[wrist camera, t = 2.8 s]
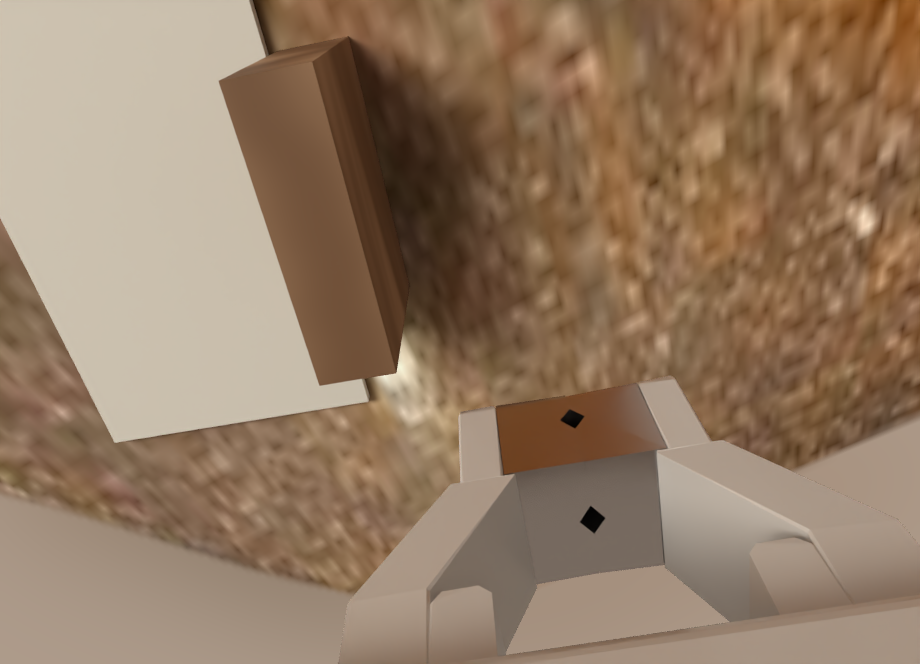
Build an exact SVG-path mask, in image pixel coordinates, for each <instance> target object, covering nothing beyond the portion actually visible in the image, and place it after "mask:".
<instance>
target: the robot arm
mask: <svg viewBox="0 0 920 664" xmlns="http://www.w3.org/2000/svg"><path fill="white" fill-rule="evenodd" d="M459 450H460V483H456V484H451V485H449V487H448V488H447V489H446V490H445V491H444V492H443V494H442V495H441V496H440V497H439V498H438V499H437V500H436V502H435V503H434V504H433V505H432V506H431V507H430V508H429V510H428V511H427V512H426V513H425V514H424V515H423V517H422V518H421V519H420V520H419V521H418V522H417V523H416V525H415V526H414V527H413V528H412V529H411V530H410V532H409V533H408V534H407V535H406V536H405V537H404V538H403V540H402V541H401V542H400V543H399V544H398V545H397V547H396V548H395V549H394V550H393V551H392V552H391V553H390V555H389V556H388V557H387V558H386V559H385V560H384V562H383V563H382V564H381V565H380V566H379V567H378V568H377V570H376V571H375V572H374V573H373V574H372V575H371V577H370V578H369V579H368V580H367V581H366V582H365V583H364V585H363V586H362V587H361V588H360V589H359V590H358V591H357V593H356V594H355V595H354V596H353V597H352V598H351V600H350V601H349V602H348V606H347V612H346V619H345V624H344V631H343V637H342V643H341V650H340V656H339V662H338V664H920V545H919V544H918V543H917V542H916V540H915V539H914V538H913V537H912V536H911V534H910V533H909V532H908V531H907V530H906V529H905V527H904V526H903V525H902V524H901V522H900V521H899V520H898V519H896V518H894V517H892V516H890V515H887V514H885V513H883V512H881V511H879V510H876V509H874V508H872V507H870V506H867V505H865V504H863V503H861V502H859V501H856V500H854V499H852V498H850V497H848V496H845V495H843V494H841V493H839V492H836V491H834V490H832V489H830V488H828V487H825V486H823V485H821V484H819V483H817V482H814V481H812V480H810V479H808V478H806V477H804V476H801V475H799V474H797V473H795V472H792V471H790V470H788V469H786V468H784V467H781V466H779V465H777V464H775V463H773V462H770V461H768V460H766V459H764V458H762V457H759V456H757V455H755V454H753V453H751V452H748V451H746V450H744V449H742V448H740V447H737V446H735V445H733V444H731V443H728V442H726V441H724V440H720V441H713V442H712V440H711V439H710V437H709V435H708V434H707V432H706V430H705V428H704V427H703V425H702V423H701V422H700V420H699V418H698V416H697V415H696V413H695V411H694V409H693V408H692V406H691V404H690V403H689V401H688V399H687V397H686V396H685V394H684V392H683V390H682V389H681V387H680V385H679V384H678V382H677V380H676V378H674V377H672V376H666V377H661V378H656V379H651V380H646V381H642V382H637V383H633V384H628V385H623V386H618V387H613V388H607V389H602V390H597V391H592V392H587V393H582V394H577V395H571V396H559V397H552V398H545V399H539V400H532V401H525V402H519V403H512V404H505V405H498V406H496V408H495V407H494V406H490V407H485V408H479V409H474V410H468V411H462V412H460V415H459ZM659 565H665V568H666V569H668V570H669V571H670V572H671V573H672V574H674V575H675V576H676V577H677V578H678V579H679V580H681V581H682V582H683V583H684V584H685V585H687V586H688V587H689V588H690V589H691V590H693V591H694V592H695V593H696V594H697V595H699V596H700V597H701V598H702V599H703V600H705V601H706V602H707V603H708V604H709V605H711V606H712V607H713V608H714V609H715V610H717V611H718V612H719V613H720V614H721V615H723V616H724V617H725V618H726V619H727V620H728V621H730V622H728V623H721V624H715V625H708V626H701V627H694V628H687V629H680V630H674V631H667V632H660V633H653V634H647V635H641V636H633V637H627V638H620V639H613V640H606V641H599V642H593V643H586V644H579V645H572V646H566V647H559V648H551V649H545V650H538V651H531V652H524V653H517V654H510V655H506V651H507V649H508V647H509V644H510V642H511V640H512V638H513V636H514V634H515V632H516V630H517V628H518V626H519V624H520V622H521V620H522V618H523V616H524V614H525V611H526V609H527V607H528V605H529V603H530V601H531V599H532V597H533V595H534V593H535V591H536V589H537V585H536V584H541V583H546V582H552V581H557V580H563V579H568V578H574V577H579V576H584V575H590V574H596V573H602V572H610V571H618V570H626V569H635V568H643V567H651V566H659Z"/></svg>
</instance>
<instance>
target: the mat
mask: <svg viewBox="0 0 920 664" xmlns="http://www.w3.org/2000/svg"><path fill="white" fill-rule="evenodd" d="M267 56H269V54H268V51H267V47H266V44H265V41H264V37H263V34H262V30H261V27H260V24H259V20H258V17H257V14H256V10H255V7H254V3H253V0H0V218H1V220H2V222H3V224H4V226H5V228H6V230H7V232H8V234H9V236H10V238H11V240H12V242H13V244H14V246H15V248H16V250H17V252H18V254H19V256H20V258H21V260H22V261H23V263H24V265H25V267H26V269H27V271H28V273H29V275H30V277H31V279H32V281H33V283H34V285H35V287H36V289H37V291H38V293H39V295H40V297H41V299H42V301H43V303H44V305H45V307H46V309H47V311H48V313H49V314H50V316H51V318H52V320H53V322H54V324H55V326H56V328H57V330H58V332H59V334H60V336H61V338H62V340H63V342H64V344H65V346H66V348H67V350H68V352H69V354H70V356H71V358H72V360H73V362H74V364H75V365H76V367H77V369H78V371H79V373H80V375H81V377H82V379H83V381H84V383H85V385H86V387H87V389H88V391H89V393H90V395H91V397H92V399H93V401H94V403H95V405H96V407H97V409H98V411H99V413H100V415H101V417H102V418H103V420H104V422H105V424H106V426H107V428H108V430H109V432H110V434H111V436H112V438H113V440H114V442H115V443H116V442H122V441H128V440H134V439H141V438H147V437H153V436H159V435H165V434H171V433H178V432H184V431H190V430H196V429H202V428H208V427H215V426H221V425H227V424H233V423H239V422H245V421H252V420H258V419H264V418H270V417H276V416H282V415H289V414H295V413H301V412H307V411H313V410H319V409H326V408H332V407H338V406H344V405H350V404H356V403H363V402H369V397H370V396H369V392H368V389H367V386H366V382H365V379H358V380H352V381H346V382H340V383H334V384H328V385H322V386H319V383H318V380H317V377H316V374H315V371H314V368H313V365H312V362H311V359H310V356H309V353H308V350H307V347H306V344H305V341H304V338H303V335H302V332H301V329H300V326H299V323H298V320H297V317H296V314H295V311H294V308H293V305H292V302H291V299H290V296H289V293H288V290H287V287H286V283H285V280H284V277H283V274H282V271H281V268H280V265H279V262H278V259H277V256H276V253H275V250H274V247H273V244H272V241H271V238H270V235H269V232H268V229H267V226H266V223H265V220H264V217H263V214H262V211H261V208H260V205H259V202H258V199H257V196H256V193H255V190H254V187H253V184H252V181H251V178H250V175H249V172H248V169H247V166H246V163H245V160H244V157H243V154H242V151H241V148H240V145H239V142H238V139H237V136H236V133H235V130H234V127H233V124H232V121H231V118H230V115H229V112H228V109H227V106H226V103H225V100H224V96H223V93H222V90H221V87H220V84H219V80H221V79H223V78H225V77H227V76H229V75H231V74H233V73H235V72H237V71H239V70H241V69H243V68H245V67H247V66H249V65H251V64H253V63H255V62H257V61H259V60H261V59H263V58H265V57H267Z"/></svg>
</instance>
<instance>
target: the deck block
mask: <svg viewBox="0 0 920 664" xmlns="http://www.w3.org/2000/svg"><path fill="white" fill-rule="evenodd" d="M219 84H220V87H221V90H222V93H223V96H224V100H225V103H226V106H227V109H228V112H229V115H230V118H231V121H232V124H233V127H234V130H235V133H236V136H237V139H238V142H239V145H240V148H241V151H242V154H243V157H244V160H245V163H246V166H247V169H248V172H249V175H250V178H251V181H252V184H253V187H254V190H255V193H256V196H257V199H258V202H259V205H260V208H261V211H262V214H263V217H264V220H265V223H266V226H267V229H268V232H269V235H270V238H271V241H272V244H273V247H274V250H275V253H276V256H277V259H278V262H279V265H280V268H281V271H282V274H283V277H284V280H285V283H286V287H287V290H288V293H289V296H290V299H291V302H292V305H293V308H294V311H295V314H296V317H297V320H298V323H299V326H300V329H301V332H302V335H303V338H304V341H305V344H306V347H307V350H308V353H309V356H310V359H311V362H312V365H313V368H314V371H315V374H316V377H317V380H318V383H319V386H322V385H328V384H334V383H340V382H346V381H352V380H358V379H364V378H370V377H376V376H382V375H388V374H394V373H396V372H397V366H398V359H399V353H400V346H401V339H402V333H403V326H404V320H405V313H406V307H407V300H408V294H409V287H410V286H409V282H408V278H407V274H406V269H405V265H404V261H403V257H402V253H401V249H400V245H399V241H398V237H397V233H396V229H395V224H394V220H393V216H392V212H391V208H390V204H389V200H388V196H387V192H386V188H385V184H384V179H383V175H382V171H381V167H380V163H379V159H378V155H377V151H376V147H375V143H374V139H373V134H372V130H371V126H370V122H369V118H368V114H367V110H366V106H365V102H364V98H363V93H362V89H361V85H360V81H359V77H358V73H357V69H356V65H355V61H354V57H353V53H352V48H351V44H350V40H349V36H348V37H343V38H338V39H333V40H328V41H324V42H319V43H314V44H309V45H304V46H300V47H295V48H290V49H285V50H281V51H277V52H275V53H273V54H271V55H269V56H267V57H265V58H263V59H261V60H259V61H257V62H255V63H253V64H251V65H249V66H247V67H245V68H243V69H241V70H239V71H237V72H235V73H233V74H231V75H229V76H227V77H225V78H223V79H221V80H219Z"/></svg>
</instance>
